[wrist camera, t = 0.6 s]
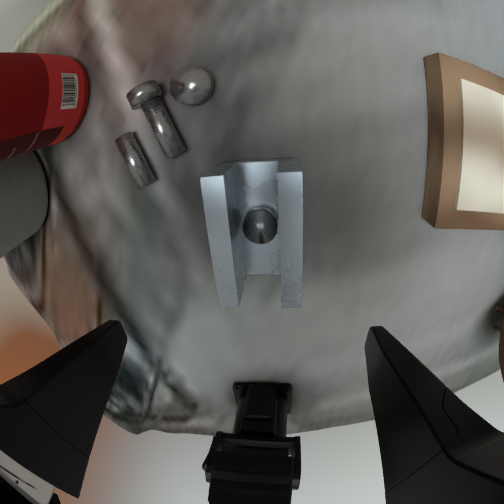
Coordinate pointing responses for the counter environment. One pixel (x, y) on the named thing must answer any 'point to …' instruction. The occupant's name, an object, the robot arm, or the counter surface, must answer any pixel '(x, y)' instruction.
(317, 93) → the counter surface
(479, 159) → the picture frame
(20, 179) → the water bottle
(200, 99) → the loose bolts
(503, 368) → the alarm clock
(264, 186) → the housing
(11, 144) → the canned food
